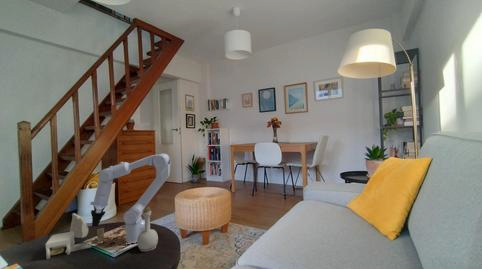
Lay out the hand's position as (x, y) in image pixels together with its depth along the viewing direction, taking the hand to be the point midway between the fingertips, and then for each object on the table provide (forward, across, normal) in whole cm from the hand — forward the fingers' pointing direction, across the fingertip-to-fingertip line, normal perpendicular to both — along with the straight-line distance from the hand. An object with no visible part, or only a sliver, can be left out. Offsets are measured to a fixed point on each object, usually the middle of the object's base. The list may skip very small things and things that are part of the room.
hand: (95, 222), depth 106 cm
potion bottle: (+3, +17, +22) cm, 29 cm away
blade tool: (+11, 0, -1) cm, 11 cm away
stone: (+14, -15, -6) cm, 21 cm away
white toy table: (+13, 0, -10) cm, 17 cm away
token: (+14, +1, -12) cm, 18 cm away
